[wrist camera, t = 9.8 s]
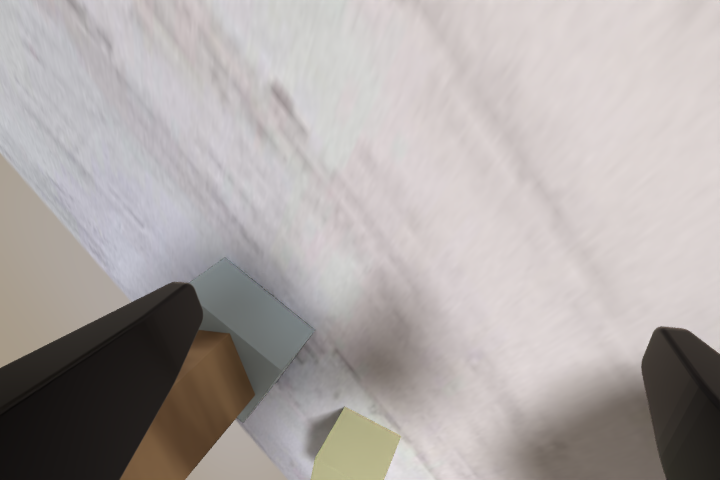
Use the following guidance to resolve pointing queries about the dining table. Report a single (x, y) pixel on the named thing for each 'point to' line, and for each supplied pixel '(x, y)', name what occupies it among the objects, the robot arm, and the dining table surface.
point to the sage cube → (355, 450)
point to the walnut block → (194, 410)
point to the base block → (250, 325)
